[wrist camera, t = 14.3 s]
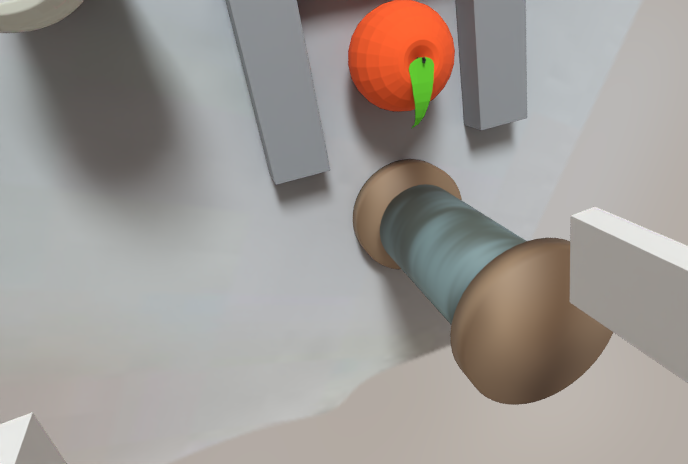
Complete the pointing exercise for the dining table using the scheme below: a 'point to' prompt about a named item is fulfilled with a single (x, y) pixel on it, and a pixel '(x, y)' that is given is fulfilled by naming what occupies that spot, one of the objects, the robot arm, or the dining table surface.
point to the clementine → (401, 56)
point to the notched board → (298, 90)
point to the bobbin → (481, 283)
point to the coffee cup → (33, 14)
